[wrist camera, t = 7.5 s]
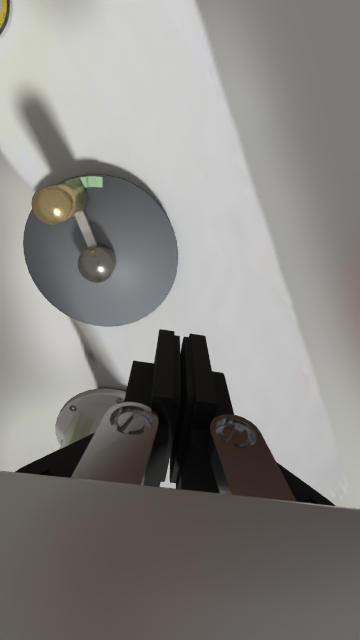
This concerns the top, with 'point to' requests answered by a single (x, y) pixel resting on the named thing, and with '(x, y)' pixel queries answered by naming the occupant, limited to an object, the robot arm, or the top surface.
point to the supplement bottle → (5, 16)
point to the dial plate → (125, 241)
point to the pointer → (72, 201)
